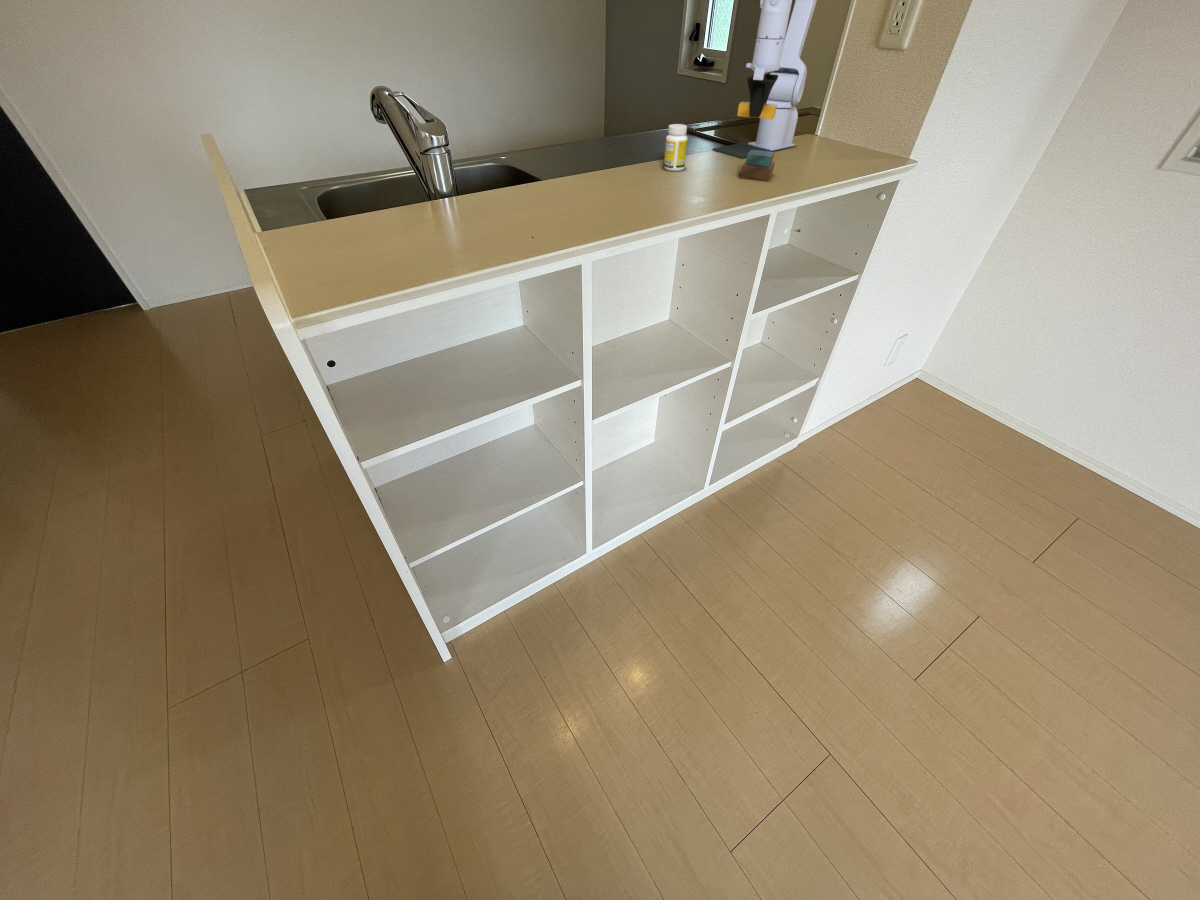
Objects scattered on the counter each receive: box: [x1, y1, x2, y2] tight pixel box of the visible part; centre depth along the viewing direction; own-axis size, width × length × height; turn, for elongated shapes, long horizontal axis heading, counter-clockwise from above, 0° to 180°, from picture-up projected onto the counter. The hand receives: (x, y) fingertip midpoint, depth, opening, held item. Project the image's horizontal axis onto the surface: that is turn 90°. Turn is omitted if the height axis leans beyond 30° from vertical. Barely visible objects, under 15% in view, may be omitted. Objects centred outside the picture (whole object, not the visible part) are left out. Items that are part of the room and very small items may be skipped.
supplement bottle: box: [663, 123, 688, 172], centre depth 113 cm, size 5×5×8 cm
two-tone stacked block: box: [740, 150, 775, 182], centre depth 111 cm, size 6×6×4 cm
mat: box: [712, 140, 780, 159], centre depth 129 cm, size 14×10×1 cm
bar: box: [736, 101, 777, 119], centre depth 114 cm, size 8×3×2 cm, turn 67°
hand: (756, 115), depth 115 cm, fingers closed on bar, 3 cm apart
